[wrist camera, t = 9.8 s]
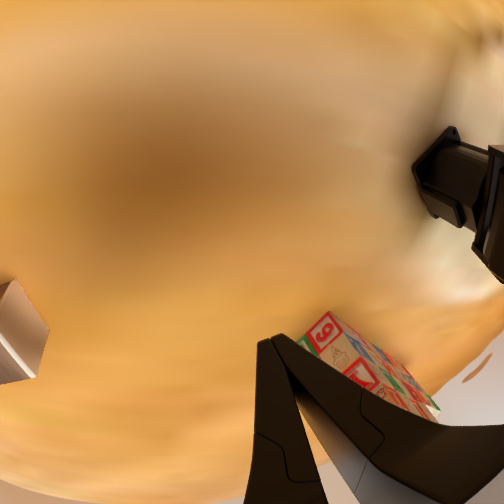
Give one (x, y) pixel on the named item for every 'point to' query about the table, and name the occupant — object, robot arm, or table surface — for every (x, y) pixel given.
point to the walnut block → (19, 335)
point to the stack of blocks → (367, 365)
